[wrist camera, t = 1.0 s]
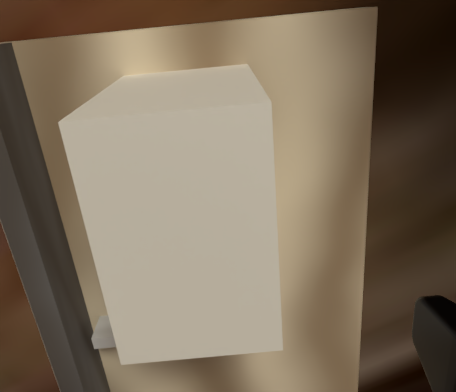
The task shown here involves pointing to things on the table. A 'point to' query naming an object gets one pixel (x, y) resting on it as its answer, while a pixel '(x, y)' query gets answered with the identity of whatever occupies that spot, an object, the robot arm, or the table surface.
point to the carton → (181, 211)
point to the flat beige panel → (284, 182)
